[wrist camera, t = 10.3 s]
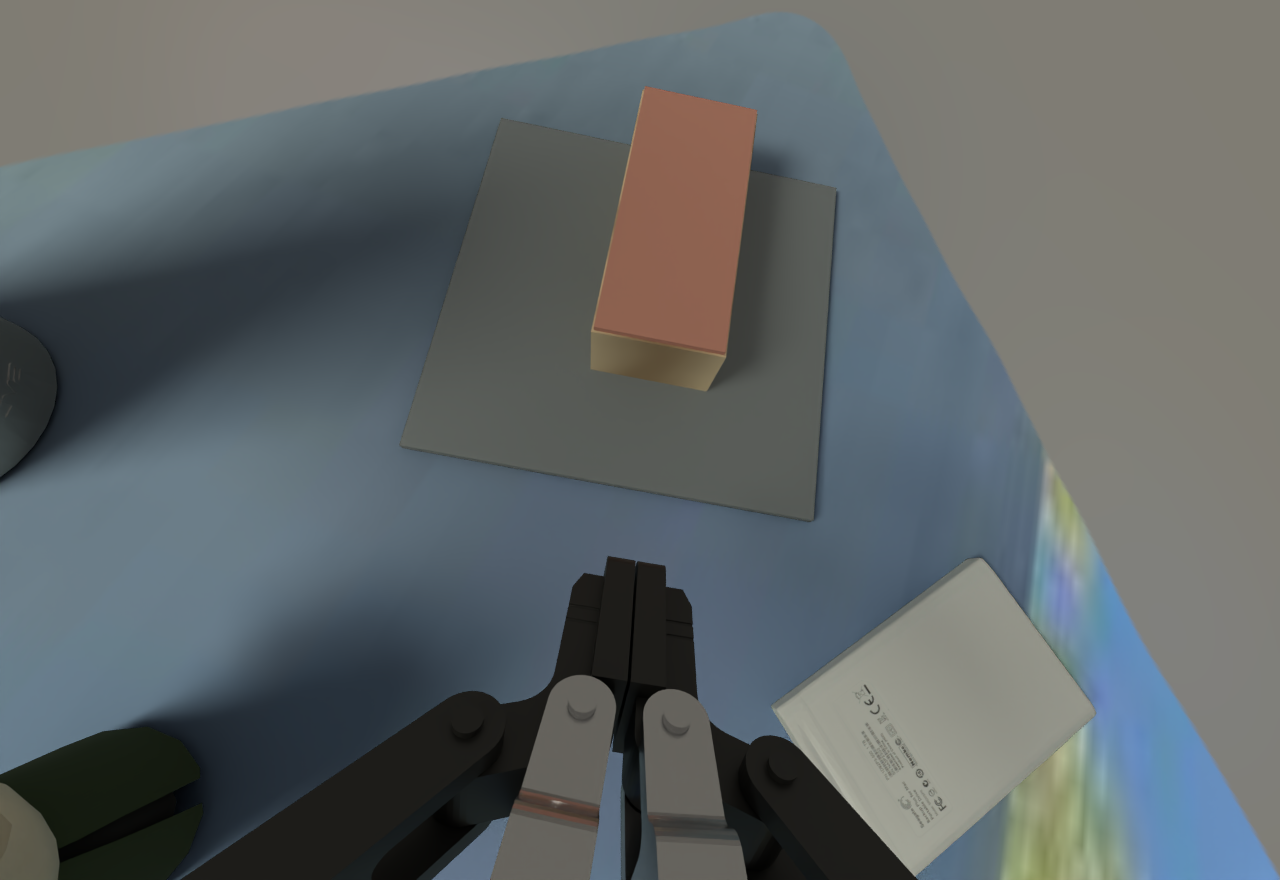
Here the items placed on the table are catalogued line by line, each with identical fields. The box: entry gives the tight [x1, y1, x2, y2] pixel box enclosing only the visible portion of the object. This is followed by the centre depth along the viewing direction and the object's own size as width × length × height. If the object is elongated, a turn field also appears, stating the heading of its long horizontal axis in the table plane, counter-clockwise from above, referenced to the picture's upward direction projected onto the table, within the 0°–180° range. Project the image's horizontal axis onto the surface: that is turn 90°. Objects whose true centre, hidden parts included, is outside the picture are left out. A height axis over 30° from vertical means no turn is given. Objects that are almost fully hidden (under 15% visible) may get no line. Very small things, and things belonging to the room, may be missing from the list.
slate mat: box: [399, 118, 836, 522], centre depth 29 cm, size 20×20×1 cm
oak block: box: [591, 86, 757, 391], centre depth 27 cm, size 6×4×14 cm
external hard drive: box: [771, 558, 1096, 876], centre depth 24 cm, size 2×8×12 cm
